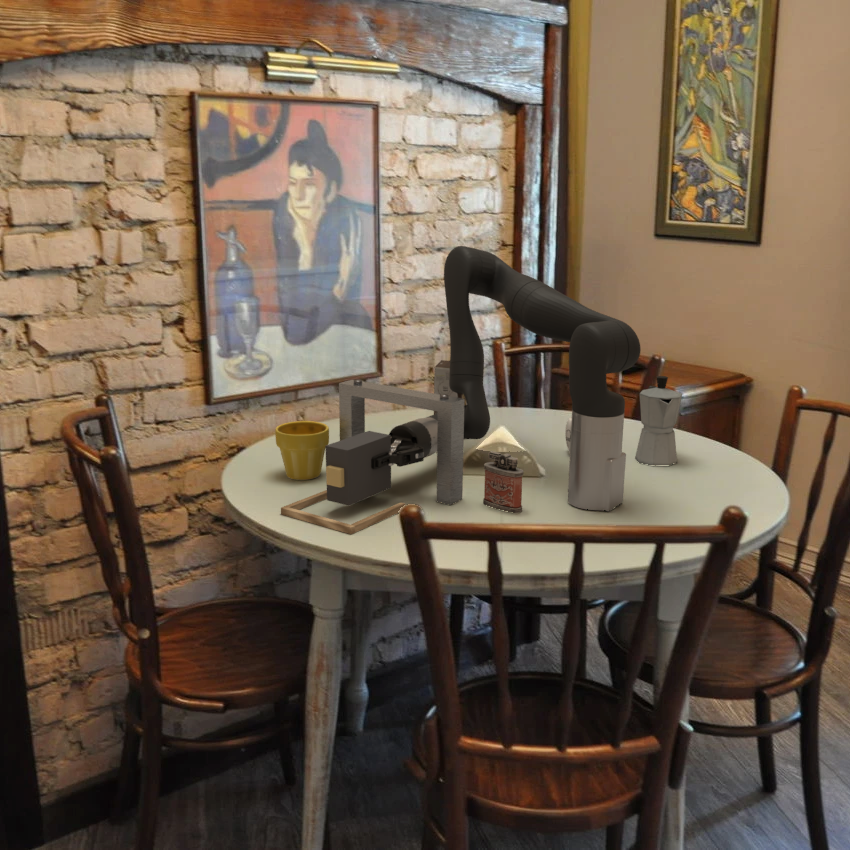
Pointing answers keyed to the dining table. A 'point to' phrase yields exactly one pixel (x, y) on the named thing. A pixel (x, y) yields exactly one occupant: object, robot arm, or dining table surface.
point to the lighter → (503, 483)
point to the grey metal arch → (446, 406)
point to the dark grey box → (356, 468)
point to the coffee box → (444, 381)
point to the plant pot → (302, 448)
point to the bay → (295, 512)
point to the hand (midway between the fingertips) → (360, 460)
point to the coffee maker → (658, 424)
